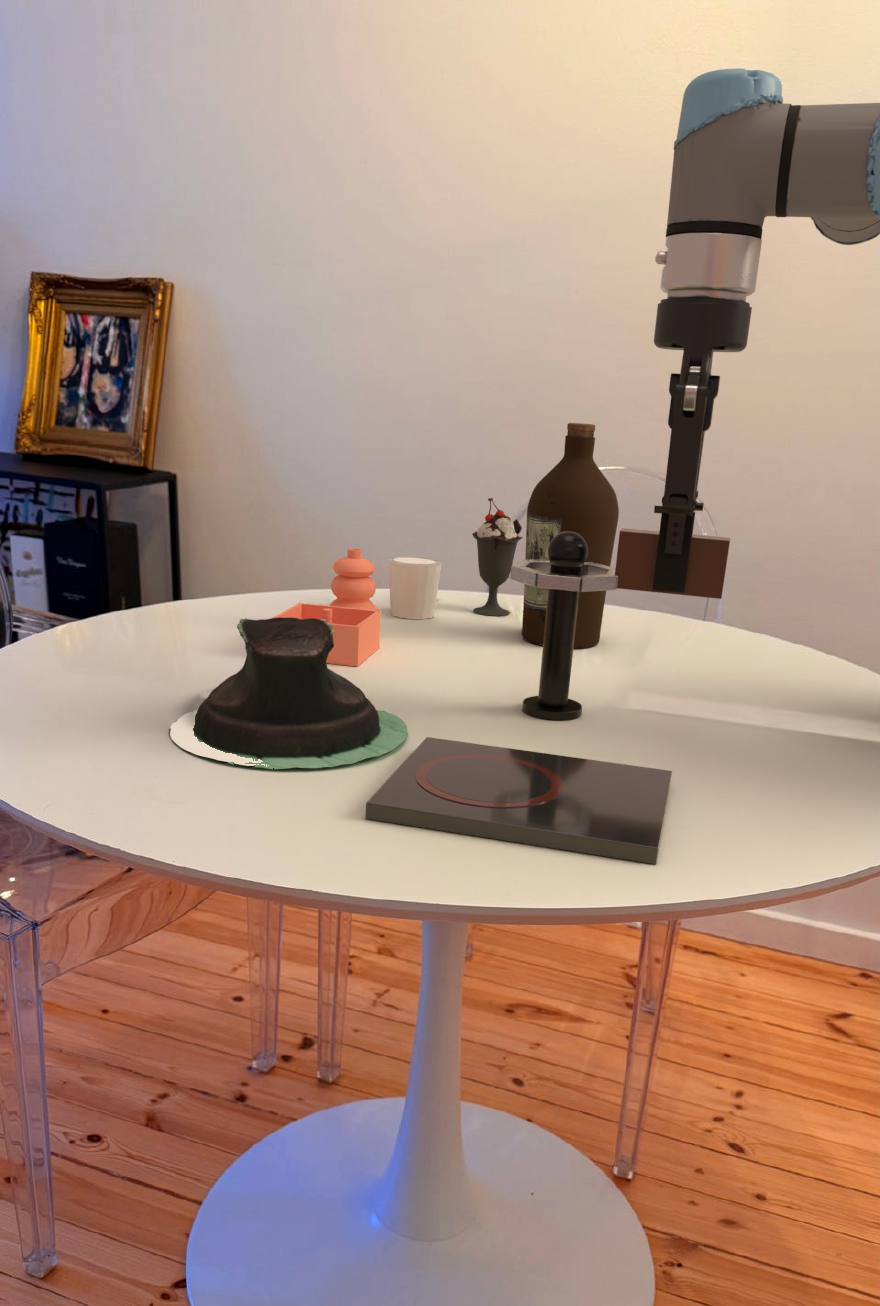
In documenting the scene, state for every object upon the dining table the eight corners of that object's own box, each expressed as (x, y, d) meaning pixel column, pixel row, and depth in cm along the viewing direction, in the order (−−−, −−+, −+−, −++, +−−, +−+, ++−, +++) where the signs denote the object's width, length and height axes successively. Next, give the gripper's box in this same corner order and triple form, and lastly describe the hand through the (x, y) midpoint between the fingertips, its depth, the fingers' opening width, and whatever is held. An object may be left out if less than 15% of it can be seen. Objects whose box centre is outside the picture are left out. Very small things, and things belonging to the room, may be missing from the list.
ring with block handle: (722, 588, 100) (730, 532, 98) (720, 606, 91) (729, 546, 89) (523, 568, 104) (528, 514, 102) (503, 583, 95) (508, 525, 93)
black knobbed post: (584, 707, 104) (604, 530, 99) (577, 723, 99) (597, 537, 93) (527, 700, 106) (543, 524, 100) (517, 715, 101) (533, 531, 95)
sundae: (463, 614, 142) (471, 497, 137) (470, 605, 149) (479, 492, 143) (512, 619, 141) (523, 501, 136) (518, 609, 148) (528, 496, 142)
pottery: (357, 666, 114) (360, 572, 110) (271, 656, 115) (272, 564, 112) (398, 631, 130) (402, 549, 127) (322, 623, 132) (324, 542, 129)
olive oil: (572, 628, 138) (593, 422, 130) (621, 647, 130) (647, 428, 121) (500, 632, 134) (517, 418, 125) (546, 652, 125) (567, 424, 116)
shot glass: (416, 622, 136) (419, 566, 134) (375, 613, 140) (377, 558, 137) (449, 615, 141) (452, 561, 139) (408, 606, 145) (411, 554, 143)
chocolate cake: (142, 693, 97) (350, 684, 106) (187, 858, 86) (414, 833, 95) (161, 558, 86) (390, 561, 95) (214, 727, 76) (466, 713, 85)
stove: (670, 785, 85) (672, 769, 85) (656, 864, 71) (658, 846, 70) (425, 750, 90) (426, 735, 89) (365, 818, 75) (365, 801, 75)
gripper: (664, 303, 96) (634, 571, 104) (651, 287, 82) (618, 598, 90) (751, 306, 94) (714, 578, 102) (754, 290, 80) (710, 607, 88)
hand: (669, 587), depth 96 cm, fingers closed on ring with block handle, 2 cm apart
